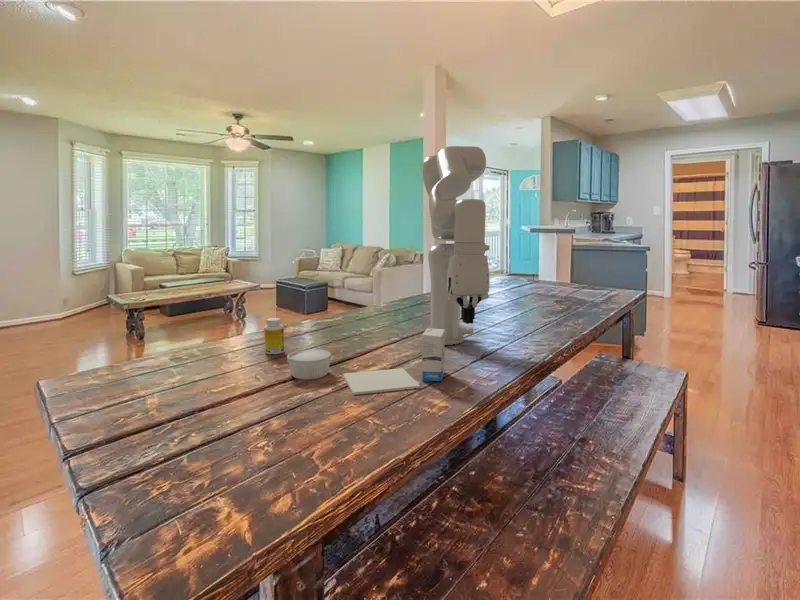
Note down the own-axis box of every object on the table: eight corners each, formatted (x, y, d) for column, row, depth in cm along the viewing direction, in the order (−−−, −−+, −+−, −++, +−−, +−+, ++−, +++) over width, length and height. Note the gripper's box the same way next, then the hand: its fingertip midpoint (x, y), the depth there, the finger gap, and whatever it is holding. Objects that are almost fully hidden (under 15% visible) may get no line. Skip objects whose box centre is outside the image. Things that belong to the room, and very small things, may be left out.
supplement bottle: (285, 354, 143) (284, 320, 142) (266, 355, 142) (264, 321, 140) (283, 349, 149) (281, 316, 147) (264, 351, 147) (262, 317, 145)
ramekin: (293, 367, 131) (293, 348, 130) (334, 367, 131) (334, 348, 130) (282, 381, 120) (281, 360, 119) (327, 381, 120) (326, 361, 119)
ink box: (441, 383, 119) (441, 336, 117) (421, 381, 120) (421, 335, 118) (445, 372, 127) (445, 328, 125) (426, 370, 128) (426, 327, 126)
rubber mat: (403, 370, 128) (403, 368, 128) (419, 388, 115) (419, 385, 115) (343, 375, 124) (343, 373, 124) (353, 394, 111) (353, 392, 111)
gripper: (489, 249, 126) (487, 318, 129) (435, 249, 122) (434, 321, 124) (503, 250, 119) (501, 323, 121) (446, 251, 115) (445, 327, 117)
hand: (467, 322), depth 123 cm, fingers closed
